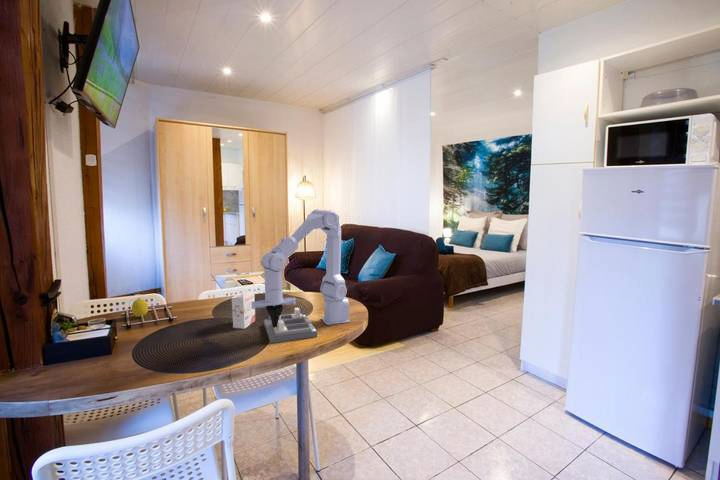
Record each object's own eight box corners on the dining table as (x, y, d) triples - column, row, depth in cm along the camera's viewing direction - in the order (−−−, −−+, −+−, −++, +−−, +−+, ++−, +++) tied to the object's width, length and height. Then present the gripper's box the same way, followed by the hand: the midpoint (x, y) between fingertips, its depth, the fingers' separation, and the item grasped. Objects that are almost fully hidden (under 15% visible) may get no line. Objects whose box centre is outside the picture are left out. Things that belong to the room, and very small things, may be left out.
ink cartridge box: (244, 320, 139) (242, 283, 137) (255, 321, 138) (254, 284, 136) (232, 328, 130) (230, 289, 128) (244, 329, 129) (243, 290, 127)
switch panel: (305, 319, 140) (305, 311, 139) (317, 336, 123) (317, 327, 123) (264, 324, 134) (263, 316, 133) (270, 343, 117) (270, 334, 117)
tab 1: (285, 329, 124) (285, 318, 124) (287, 333, 120) (287, 322, 120) (274, 330, 123) (273, 320, 122) (275, 334, 119) (275, 324, 118)
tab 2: (301, 316, 137) (301, 306, 137) (303, 319, 134) (303, 310, 133) (291, 317, 136) (291, 308, 135) (293, 321, 132) (293, 311, 132)
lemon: (151, 316, 141) (150, 297, 140) (136, 321, 137) (135, 301, 135) (144, 314, 144) (143, 295, 143) (129, 318, 139) (128, 298, 138)
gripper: (292, 283, 125) (293, 319, 127) (250, 286, 120) (251, 325, 122) (296, 288, 119) (297, 326, 120) (252, 292, 113) (253, 332, 115)
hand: (274, 326), depth 121 cm, fingers closed
